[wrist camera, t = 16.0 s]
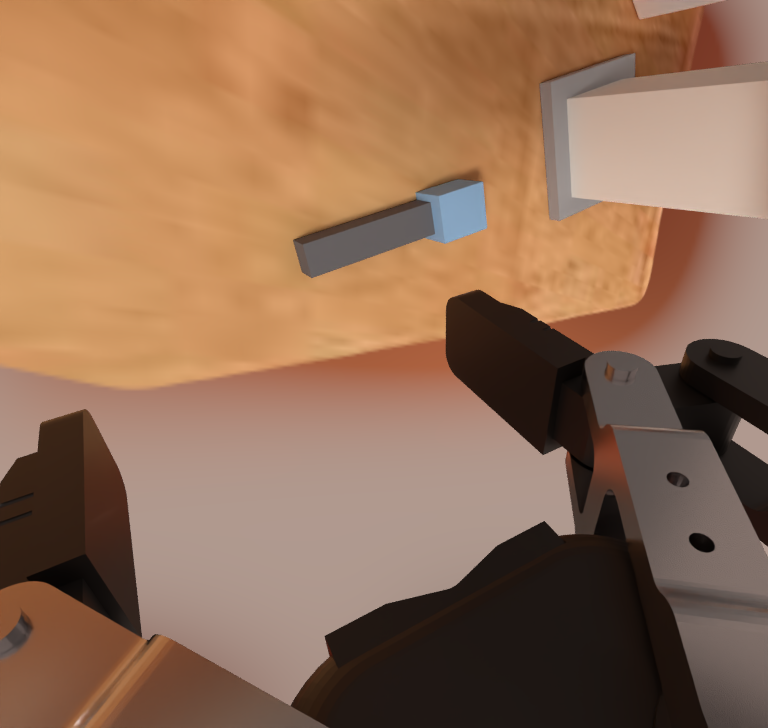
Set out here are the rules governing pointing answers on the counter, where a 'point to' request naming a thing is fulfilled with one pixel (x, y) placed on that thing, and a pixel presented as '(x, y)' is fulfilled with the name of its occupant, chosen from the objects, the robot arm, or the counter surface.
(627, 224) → the counter surface
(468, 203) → the blue block grey bar
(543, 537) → the robot arm
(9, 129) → the counter surface
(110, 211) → the counter surface
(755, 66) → the pedestal stand
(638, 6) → the jar
